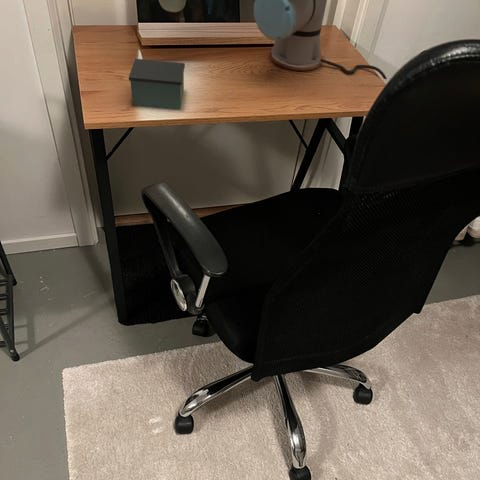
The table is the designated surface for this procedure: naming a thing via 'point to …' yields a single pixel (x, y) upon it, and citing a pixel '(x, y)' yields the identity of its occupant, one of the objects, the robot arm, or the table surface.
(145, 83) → the container
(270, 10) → the robot arm
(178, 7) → the cup
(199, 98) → the table surface
